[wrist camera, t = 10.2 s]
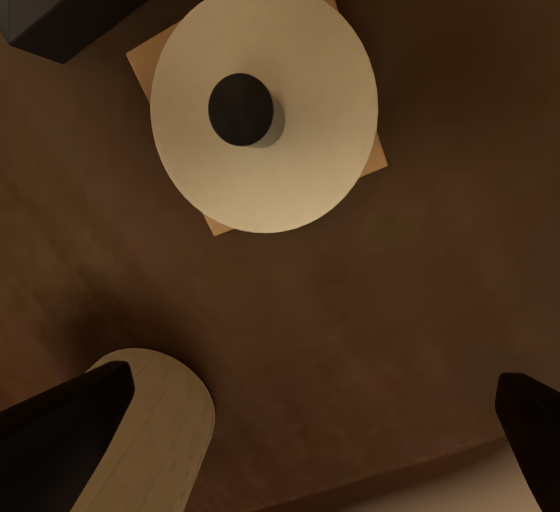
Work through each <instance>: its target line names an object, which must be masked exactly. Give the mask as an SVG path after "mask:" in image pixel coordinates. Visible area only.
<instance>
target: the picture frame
mask: <svg viewBox="0 0 560 512" xmlns="http://www.w3.org/2000/svg"><path fill="white" fill-rule="evenodd" d="M145 1H147V0H0V31H1V32H2V34H3V36H4V37H5V39H6V40H7V42H8V44H9V45H10V46H13V47H16V48H19V49H22V50H25V51H27V52H30V53H33V54H36V55H39V56H41V57H44V58H47V59H50V60H53V61H56V62H58V63H61V64H64V63H65V62H66V61H68V60H69V59H70V58H72V57H73V56H74V55H76V54H77V53H78V52H80V51H81V50H82V49H84V48H85V47H86V46H87V45H89V44H90V43H91V42H93V41H94V40H95V39H97V38H98V37H99V36H101V35H102V34H103V33H105V32H106V31H107V30H109V29H110V28H111V27H113V26H114V25H115V24H116V23H118V22H119V21H120V20H122V19H123V18H124V17H126V16H127V15H128V14H130V13H131V12H132V11H134V10H135V9H136V8H138V7H139V6H140V5H142V4H143V3H144V2H145Z"/></svg>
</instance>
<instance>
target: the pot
mask: <svg viewBox="0 0 560 512" xmlns="http://www.w3.org/2000/svg"><path fill="white" fill-rule="evenodd" d="M110 361H127V362H128V363H129V364H130V367H131V372H132V376H133V380H134V384H135V393H134V396H133V399H132V401H131V403H130V405H129V407H128V409H127V411H126V413H125V415H124V417H123V419H122V421H121V423H120V425H119V427H118V429H117V431H116V433H115V435H114V437H113V439H112V441H111V443H110V445H109V447H108V449H107V451H106V453H105V454H104V456H103V458H102V460H101V461H100V463H99V465H98V466H97V468H96V470H95V471H94V473H93V475H92V476H91V478H90V480H89V481H88V483H87V485H86V486H85V488H84V489H83V491H82V493H81V494H80V496H79V498H78V499H77V501H76V503H75V504H74V506H73V508H72V509H71V511H70V512H183V510H184V508H185V505H186V503H187V500H188V497H189V495H190V492H191V490H192V487H193V484H194V482H195V479H196V477H197V474H198V471H199V469H200V466H201V464H202V461H203V458H204V456H205V453H206V451H207V448H208V445H209V443H210V440H211V438H212V435H213V429H214V425H215V408H214V404H213V400H212V398H211V395H210V393H209V391H208V390H207V388H206V386H205V385H204V383H203V382H202V381H201V379H200V378H199V377H198V376H197V375H196V374H195V373H194V372H193V371H192V370H191V369H189V368H188V367H187V366H186V365H184V364H183V363H181V362H180V361H178V360H176V359H175V358H173V357H171V356H169V355H166V354H164V353H161V352H158V351H154V350H150V349H144V348H126V349H121V350H117V351H114V352H111V353H109V354H107V355H105V356H103V357H102V358H100V359H99V360H98V361H97V362H96V363H95V364H94V365H93V366H91V367H90V368H89V369H88V370H87V371H86V372H88V371H90V370H92V369H94V368H97V367H99V366H101V365H103V364H105V363H108V362H110ZM86 372H85V373H86Z"/></svg>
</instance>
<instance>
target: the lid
mask: <svg viewBox="0 0 560 512" xmlns="http://www.w3.org/2000/svg"><path fill="white" fill-rule="evenodd" d="M150 112H151V124H152V132H153V136H154V140H155V144H156V148H157V150H158V153H159V156H160V159H161V161H162V163H163V165H164V167H165V169H166V171H167V173H168V175H169V177H170V178H171V180H172V181H173V183H174V184H175V186H176V187H177V188H178V190H179V191H180V192H181V193H182V194H183V196H184V197H185V198H186V199H187V200H188V201H189V202H190V203H191V204H192V205H193V206H194V207H196V208H197V209H198V210H200V211H201V212H202V213H204V214H205V215H206V216H208V217H210V218H212V219H213V220H215V221H217V222H219V223H221V224H224V225H226V226H228V227H231V228H234V229H238V230H241V231H247V232H253V233H275V232H283V231H288V230H292V229H296V228H298V227H301V226H304V225H306V224H309V223H311V222H312V221H314V220H316V219H318V218H320V217H321V216H323V215H324V214H326V213H327V212H328V211H330V210H331V209H333V208H334V207H335V206H336V205H337V204H338V203H339V202H340V201H341V200H342V199H343V198H344V197H345V196H346V195H347V193H348V192H349V191H350V190H351V189H352V187H353V186H354V184H355V183H356V181H357V180H358V178H359V177H360V175H361V174H362V171H363V169H364V167H365V165H366V163H367V161H368V159H369V156H370V153H371V150H372V147H373V144H374V139H375V134H376V129H377V120H378V94H377V87H376V82H375V76H374V73H373V69H372V66H371V63H370V60H369V57H368V55H367V53H366V51H365V48H364V46H363V44H362V42H361V41H360V39H359V37H358V36H357V34H356V33H355V31H354V30H353V28H352V27H351V26H350V25H349V23H348V22H347V21H346V20H345V19H344V18H343V16H342V15H341V14H340V13H339V12H337V11H336V10H335V9H334V8H333V7H332V6H331V5H329V4H328V3H327V2H325V1H324V0H204V1H202V2H201V3H200V4H198V5H197V6H196V7H195V8H194V9H192V10H191V11H190V12H189V13H188V14H187V15H186V16H185V17H184V18H183V20H182V21H181V22H180V23H179V24H178V25H177V27H176V28H175V30H174V31H173V33H172V34H171V35H170V37H169V39H168V41H167V42H166V44H165V46H164V48H163V50H162V52H161V55H160V58H159V60H158V63H157V66H156V69H155V74H154V78H153V82H152V90H151V99H150Z"/></svg>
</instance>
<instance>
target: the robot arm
mask: <svg viewBox="0 0 560 512" xmlns="http://www.w3.org/2000/svg"><path fill="white" fill-rule="evenodd" d="M134 393H135V384H134V380H133V376H132V372H131V367H130V364H129V363H128V362H127V361H110V362H108V363H105V364H103V365H101V366H99V367H97V368H94V369H92V370H90V371H88V372H86V373H84V374H81V375H79V376H77V377H75V378H73V379H71V380H68V381H66V382H64V383H62V384H60V385H58V386H55V387H53V388H51V389H49V390H47V391H45V392H42V393H40V394H38V395H36V396H34V397H32V398H29V399H27V400H25V401H23V402H21V403H19V404H16V405H14V406H12V407H10V408H8V409H5V410H3V411H1V412H0V512H70V511H71V509H72V508H73V506H74V504H75V503H76V501H77V499H78V498H79V496H80V494H81V493H82V491H83V489H84V488H85V486H86V485H87V483H88V481H89V480H90V478H91V476H92V475H93V473H94V471H95V470H96V468H97V466H98V465H99V463H100V461H101V460H102V458H103V456H104V454H105V453H106V451H107V449H108V447H109V445H110V443H111V441H112V439H113V437H114V435H115V433H116V431H117V429H118V427H119V425H120V423H121V421H122V419H123V417H124V415H125V413H126V411H127V409H128V407H129V405H130V403H131V401H132V399H133V396H134ZM495 409H496V413H497V416H498V418H499V420H500V423H501V425H502V427H503V430H504V432H505V434H506V436H507V439H508V441H509V443H510V446H511V448H512V450H513V452H514V455H515V457H516V459H517V461H518V464H519V466H520V468H521V470H522V473H523V475H524V477H525V479H526V481H527V484H528V486H529V488H530V490H531V492H532V494H533V496H534V497H535V499H536V501H537V503H538V505H539V507H540V508H541V510H542V512H560V392H558V391H556V390H554V389H552V388H550V387H548V386H546V385H545V384H543V383H541V382H539V381H537V380H535V379H533V378H531V377H529V376H527V375H525V374H523V373H502V374H501V375H500V376H499V380H498V386H497V393H496V399H495Z"/></svg>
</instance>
